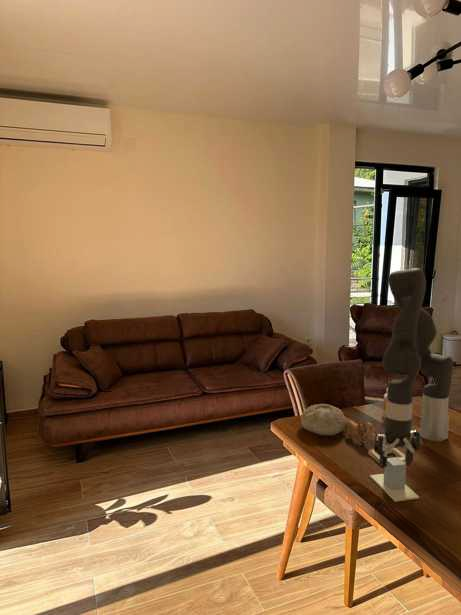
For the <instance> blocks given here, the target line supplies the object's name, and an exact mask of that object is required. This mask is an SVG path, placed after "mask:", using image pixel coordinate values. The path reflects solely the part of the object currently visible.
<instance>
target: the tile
mask: <svg viewBox="0 0 461 615" xmlns="http://www.w3.org/2000/svg"><path fill="white" fill-rule="evenodd" d="M369 477H370V479H372V481H373V482H375V484H376V485H377V486H379V487H380V488H381V490H382V491H383V492H384V493H386V494H387V495H388V496H389V498H391V499H392V501H394V502H396V503H397V502H402V501H409V500H410V501H411V500H417V499H418V500H419V499H420V496H419V495H418V494H417V493H416V492H415V491H413V489H412V488H411V487H409V486H408V485H407V484H406V483H405V488H404V489H396V490H391V489H390V488H389V487H388V486H387V485H386V484H385V483H384V473H379V474H370V475H369Z"/></svg>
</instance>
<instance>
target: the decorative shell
mask: <svg viewBox="0 0 461 615" xmlns="http://www.w3.org/2000/svg"><path fill="white" fill-rule="evenodd" d="M300 422H301V425H302V426H303V428H304V429H305V430H306V431H308V432H312V433H315V434H316V435H320V436H324V437H327V436H328V437H329V436H334V435H337V434H339V433H342V431H344V430H345V428H346V426H347V419H346V416H345V415H344V412H343V411H342V410H341V409H340V408H338V407H336V406H334V405H331V404H326V403H320V404H319V403H318V404H313V405H310V406H308V407H307V408H306V409H304V410H303V411H302V414H301V417H300Z"/></svg>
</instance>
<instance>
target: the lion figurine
mask: <svg viewBox="0 0 461 615" xmlns="http://www.w3.org/2000/svg"><path fill="white" fill-rule="evenodd" d="M372 424H373V423H371V422H364V423H359V424H356V422H355V421H354V420H349V421H347V422H346V425H345V428H344V429H343V431H341V433H342V434H344V433H345V432H346V431H347V432H346V439H347V440H350V439H351V438H350V435H352V434H351V431H352V433H353V434H354V435H357V441H358V442H357V443H358V444H357V445H358V446H362V445H363V444H366V441H365V439H368V437H371V436H372V435H373V433H374V432H375V431H376V428H375V427H374V426H373V425H372Z"/></svg>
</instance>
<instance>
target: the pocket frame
mask: <svg viewBox="0 0 461 615" xmlns="http://www.w3.org/2000/svg"><path fill="white" fill-rule="evenodd" d="M384 451H385V450H384ZM367 454H368V455H369V456H370V457H371V458H373V460H375V461H376V462H377V463H378V464H379V465H380V466H381V467H383V466H382V465H381V464H380V455H378V454H377V453H376V452H375V451H374V448H372V449H368V452H367ZM388 454H393V455H394V456H395V457H398V458H399V459H401V460H402V461H403V462H404V463H406V464H408V463H407V462H406V461H405V455H406V454H405V453H403V452H401V451H400V450H399V449H397V448H393V449H392V451H389V453H388ZM388 454H387V455H388Z"/></svg>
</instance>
